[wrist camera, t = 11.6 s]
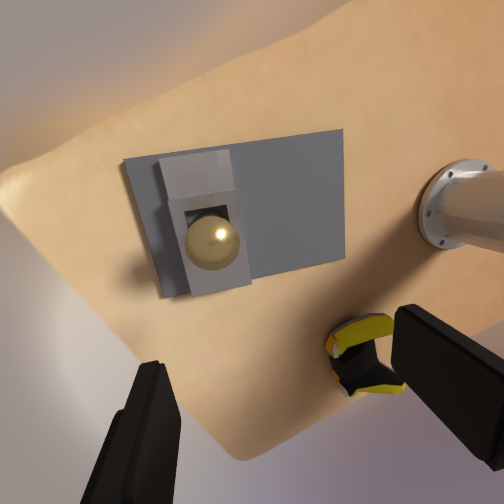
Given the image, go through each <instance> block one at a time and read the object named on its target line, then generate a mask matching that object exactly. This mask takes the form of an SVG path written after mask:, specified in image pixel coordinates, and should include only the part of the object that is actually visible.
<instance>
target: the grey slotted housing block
mask: <svg viewBox="0 0 504 504" xmlns="http://www.w3.org/2000/svg"><path fill="white" fill-rule="evenodd" d="M159 163H160V167H161V171H162V175H163V179H164V183H165V186H166V190H167V194H168V198H169V200H168V205H169V209H170V213H171V217H172V221H173V225H174V228H175V232H176V236H177V240H178V244H179V248H180V252H181V255H182V259H183V263H184V267H185V271H186V275H187V279H188V283H189V286H190V290H191V294H192V298H193V297H197V296H202V295H206V294H211V293H215V292H220V291H224V290H229V289H233V288H237V287H242V286H246V285H251V284H252V282H251V276H250V269H249V263H248V257H247V251H246V244H245V238H244V232H243V226H242V220H241V213H240V207H239V201H238V195H237V189H235V185H234V179H233V173H232V167H231V160H230V154H229V149H224V150H217V151H210V152H203V153H195V154H188V155H181V156H174V157H167V158H160V159H159ZM219 205H225V208H226V213H227V219H228V222H230V223H231V224H232V225H233V227H234V228H235V230H236V231H237V233H238V235H239V239H240V249H239V253H238V255H237V257H236V259H235V260H234V261H233V262H232V263H231V264H230V265H229V266H227V267H225V268H223V269H220V270H215V271H209V270H204V269H201V268H199V267H197V266H196V265H194V264H193V263H192V262H191V261H190V260H189V258H188V257H187V254H186V252H185V247H184V242H185V237H186V234H187V231H188V229H189V228H190V226H189V222H188V218H187V214H186V211H190V210H196V209H202V208H207V207H213V206H219Z"/></svg>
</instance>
